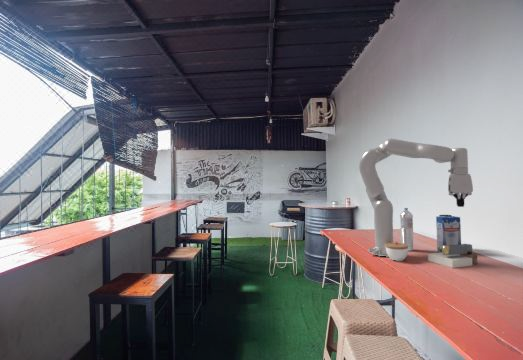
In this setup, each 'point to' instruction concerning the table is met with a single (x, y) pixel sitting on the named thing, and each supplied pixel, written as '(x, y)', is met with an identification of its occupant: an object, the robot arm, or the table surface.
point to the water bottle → (407, 229)
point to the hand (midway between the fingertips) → (460, 206)
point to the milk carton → (448, 231)
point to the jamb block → (473, 256)
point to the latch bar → (456, 249)
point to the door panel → (450, 260)
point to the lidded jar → (396, 251)
